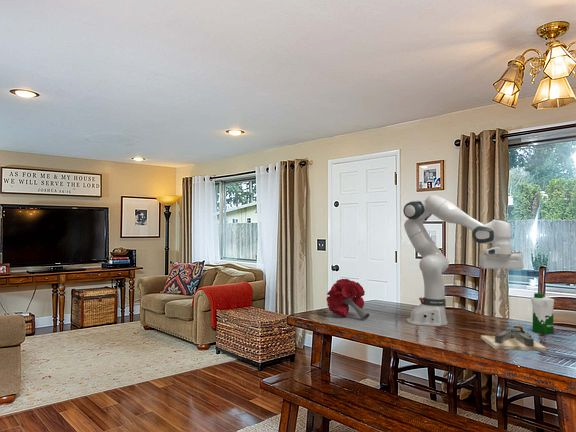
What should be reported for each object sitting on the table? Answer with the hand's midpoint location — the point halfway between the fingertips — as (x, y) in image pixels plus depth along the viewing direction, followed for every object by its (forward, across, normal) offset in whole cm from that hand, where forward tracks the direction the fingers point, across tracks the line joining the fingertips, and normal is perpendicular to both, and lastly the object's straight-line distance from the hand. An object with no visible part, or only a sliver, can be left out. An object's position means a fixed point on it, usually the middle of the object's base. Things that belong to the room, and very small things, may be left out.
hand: (501, 277), depth 212 cm
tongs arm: (+27, +6, +17) cm, 33 cm away
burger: (+30, -7, +1) cm, 30 cm away
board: (+29, +2, +18) cm, 34 cm away
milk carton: (+29, -24, -10) cm, 39 cm away
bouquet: (+29, +77, -32) cm, 88 cm away
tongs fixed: (+28, -1, +18) cm, 33 cm away
